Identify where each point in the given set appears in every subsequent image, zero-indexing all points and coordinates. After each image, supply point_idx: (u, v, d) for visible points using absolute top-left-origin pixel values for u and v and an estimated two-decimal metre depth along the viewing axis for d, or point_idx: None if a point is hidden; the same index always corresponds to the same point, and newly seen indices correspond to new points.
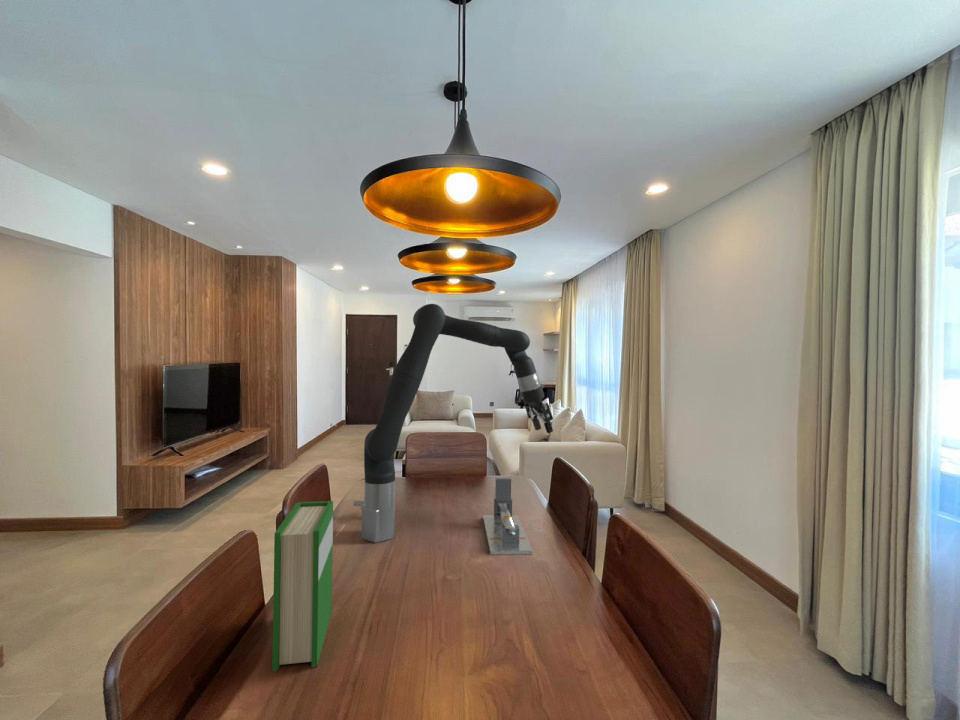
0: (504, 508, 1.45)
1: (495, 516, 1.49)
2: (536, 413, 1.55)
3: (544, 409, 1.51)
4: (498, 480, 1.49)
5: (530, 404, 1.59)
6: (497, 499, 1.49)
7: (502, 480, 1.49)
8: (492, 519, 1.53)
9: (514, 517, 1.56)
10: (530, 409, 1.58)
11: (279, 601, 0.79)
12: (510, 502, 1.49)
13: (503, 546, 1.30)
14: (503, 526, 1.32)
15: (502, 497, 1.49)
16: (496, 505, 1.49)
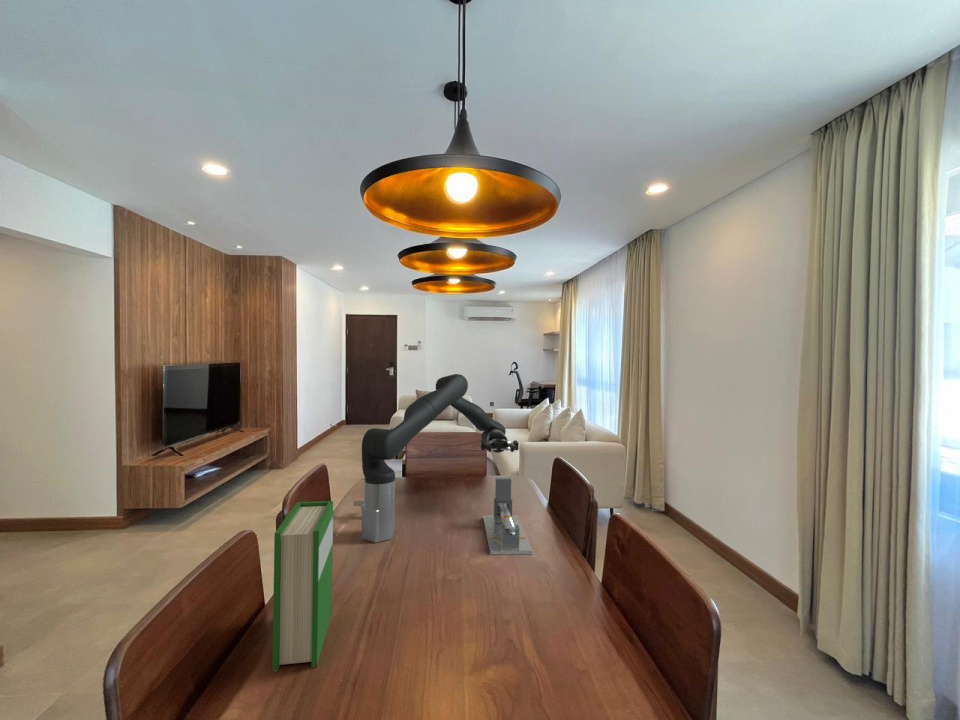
0: (504, 508, 1.45)
1: (495, 516, 1.49)
2: (504, 440, 1.65)
3: None
4: (498, 480, 1.49)
5: None
6: (497, 499, 1.49)
7: (502, 480, 1.49)
8: (492, 519, 1.53)
9: (514, 517, 1.56)
10: (495, 439, 1.67)
11: (279, 602, 0.79)
12: (510, 502, 1.49)
13: (503, 546, 1.30)
14: (503, 526, 1.32)
15: (502, 497, 1.49)
16: (496, 505, 1.49)
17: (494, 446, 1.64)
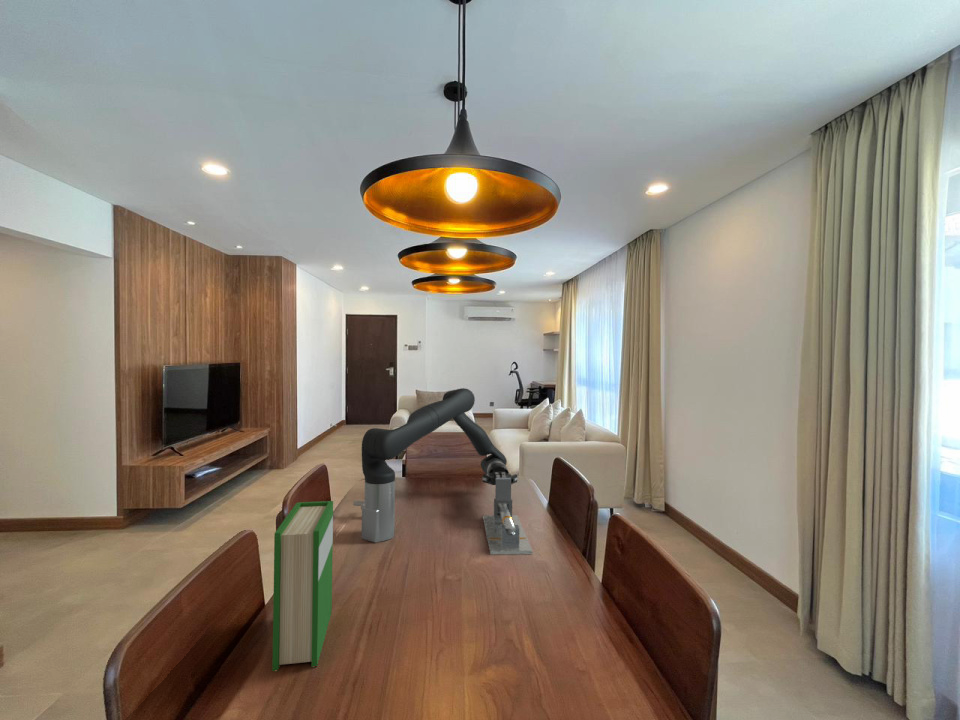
0: (504, 508, 1.45)
1: (495, 516, 1.49)
2: (502, 473, 1.59)
3: (515, 477, 1.59)
4: (498, 480, 1.49)
5: (494, 473, 1.62)
6: (497, 499, 1.49)
7: (502, 480, 1.49)
8: (492, 519, 1.53)
9: (514, 517, 1.56)
10: (496, 472, 1.61)
11: (279, 602, 0.79)
12: (510, 502, 1.49)
13: (503, 546, 1.30)
14: (503, 526, 1.32)
15: (502, 497, 1.49)
16: (496, 505, 1.49)
17: None
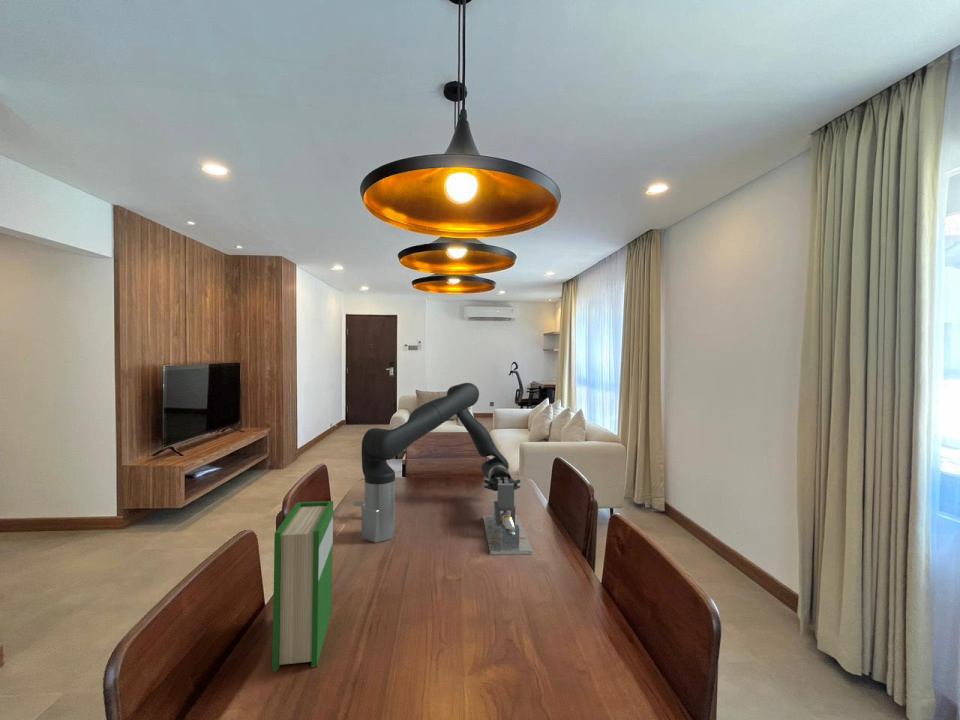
0: None
1: (497, 524, 1.41)
2: (504, 479, 1.52)
3: (518, 482, 1.52)
4: (500, 486, 1.42)
5: (495, 478, 1.55)
6: (499, 506, 1.42)
7: (505, 486, 1.42)
8: (492, 519, 1.53)
9: None
10: (498, 477, 1.53)
11: (279, 601, 0.79)
12: (513, 509, 1.42)
13: (503, 546, 1.30)
14: (503, 526, 1.32)
15: (505, 504, 1.42)
16: (498, 512, 1.42)
17: None
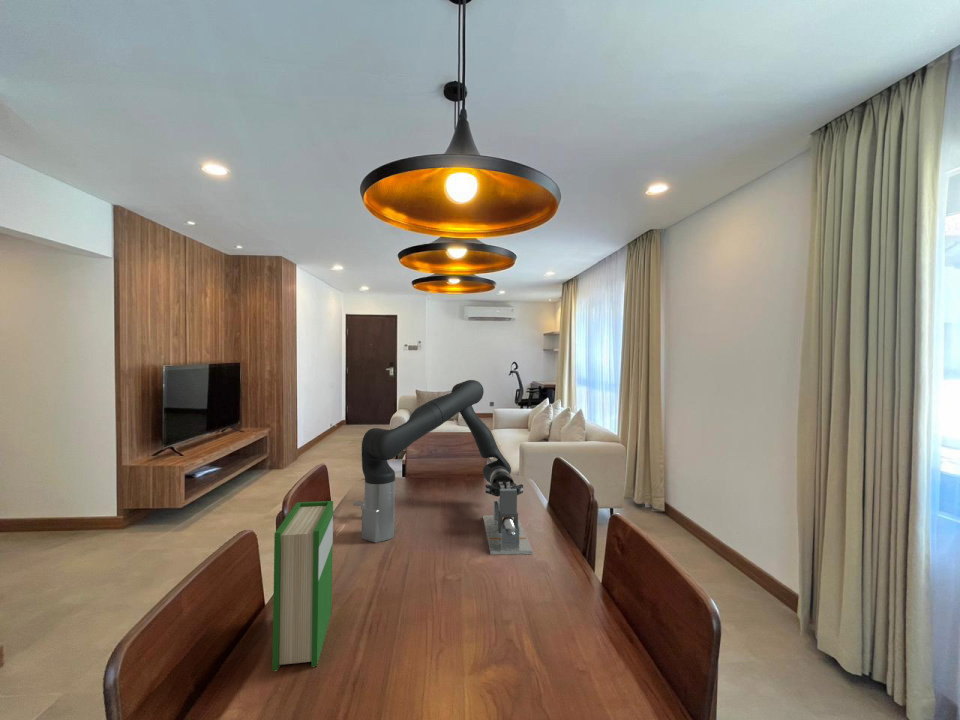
0: None
1: (499, 531, 1.35)
2: (506, 483, 1.46)
3: (521, 487, 1.46)
4: (503, 492, 1.36)
5: (497, 483, 1.49)
6: (501, 512, 1.35)
7: (507, 492, 1.36)
8: (492, 519, 1.53)
9: None
10: (500, 481, 1.47)
11: (279, 602, 0.79)
12: (516, 516, 1.36)
13: (503, 546, 1.30)
14: (503, 526, 1.32)
15: (507, 510, 1.36)
16: (500, 519, 1.35)
17: None
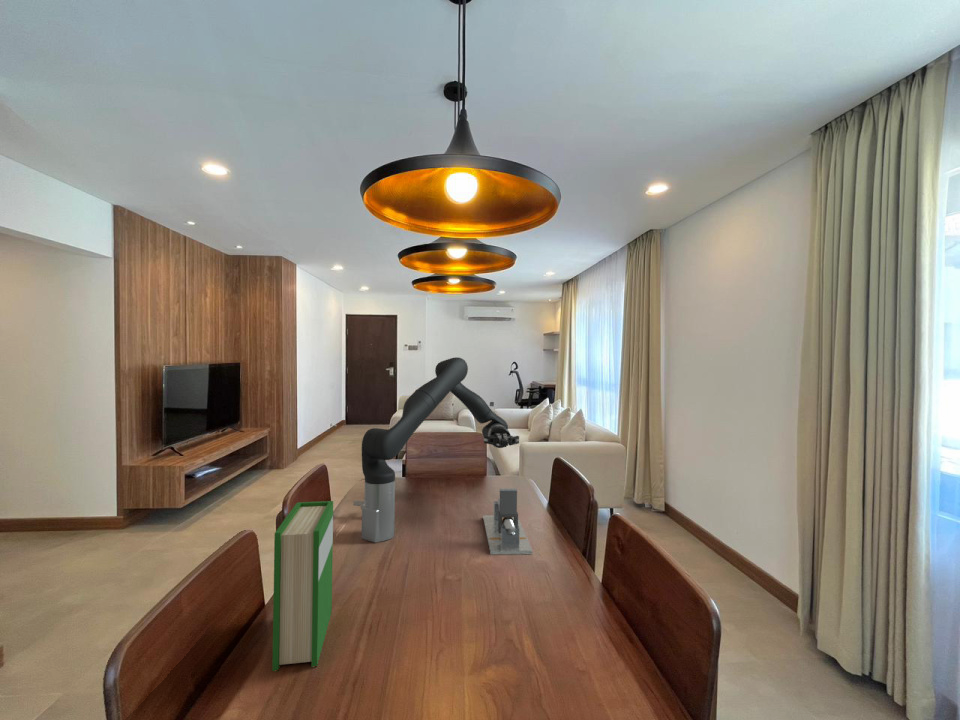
0: None
1: (499, 531, 1.35)
2: (503, 434, 1.57)
3: (517, 438, 1.56)
4: (503, 492, 1.35)
5: (495, 435, 1.59)
6: (501, 512, 1.35)
7: (507, 492, 1.36)
8: (492, 519, 1.53)
9: None
10: (498, 433, 1.58)
11: (279, 601, 0.79)
12: (516, 516, 1.36)
13: (503, 546, 1.30)
14: (503, 526, 1.32)
15: (507, 510, 1.36)
16: (500, 519, 1.35)
17: None
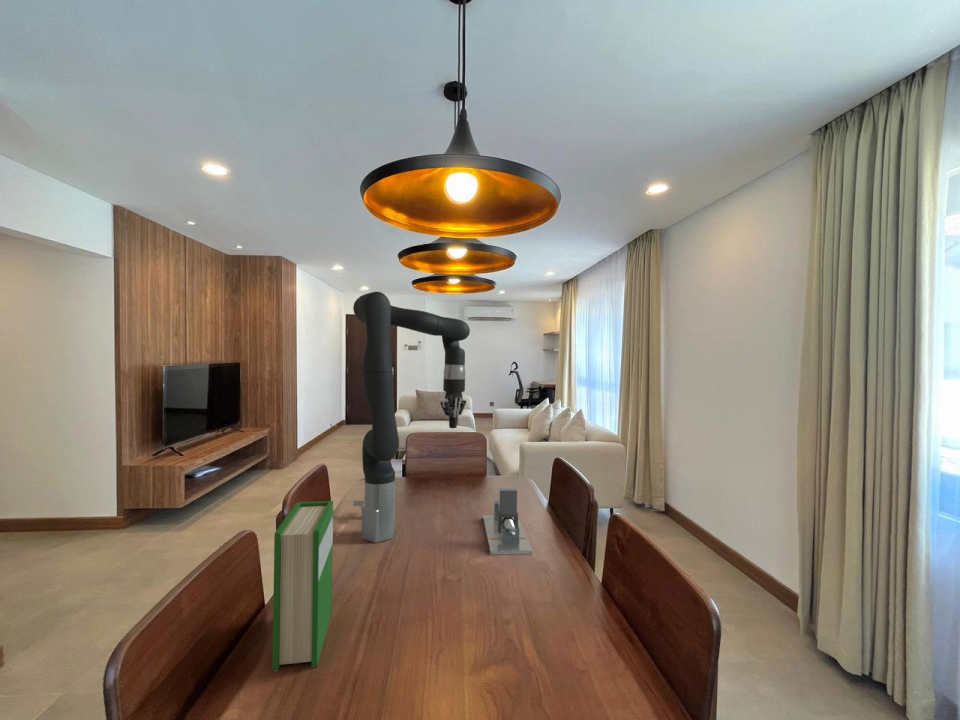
0: None
1: (499, 531, 1.35)
2: (458, 403, 1.56)
3: None
4: (503, 492, 1.35)
5: (453, 395, 1.55)
6: (501, 512, 1.35)
7: (507, 492, 1.36)
8: (492, 519, 1.53)
9: None
10: (456, 400, 1.55)
11: (279, 602, 0.79)
12: (516, 516, 1.36)
13: (503, 546, 1.30)
14: (503, 526, 1.32)
15: (507, 510, 1.36)
16: (500, 519, 1.35)
17: None
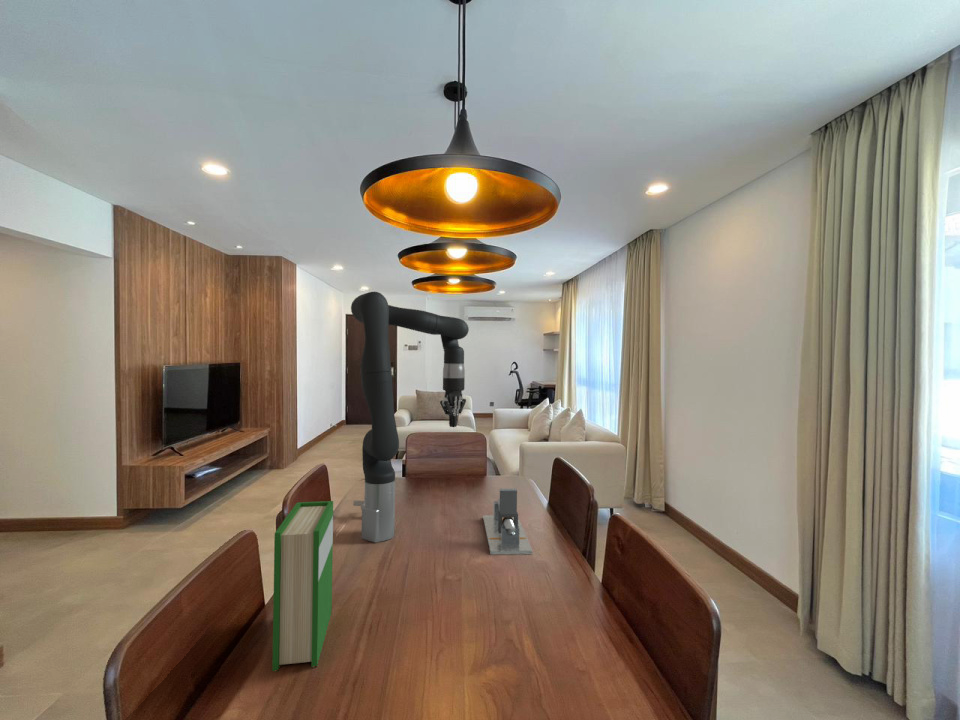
0: None
1: (499, 531, 1.35)
2: (458, 402, 1.56)
3: None
4: (503, 492, 1.35)
5: (453, 394, 1.54)
6: (501, 512, 1.35)
7: (507, 492, 1.36)
8: (492, 519, 1.53)
9: None
10: (456, 398, 1.55)
11: (279, 602, 0.79)
12: (516, 516, 1.36)
13: (503, 546, 1.30)
14: (503, 526, 1.32)
15: (507, 510, 1.36)
16: (500, 519, 1.35)
17: None
